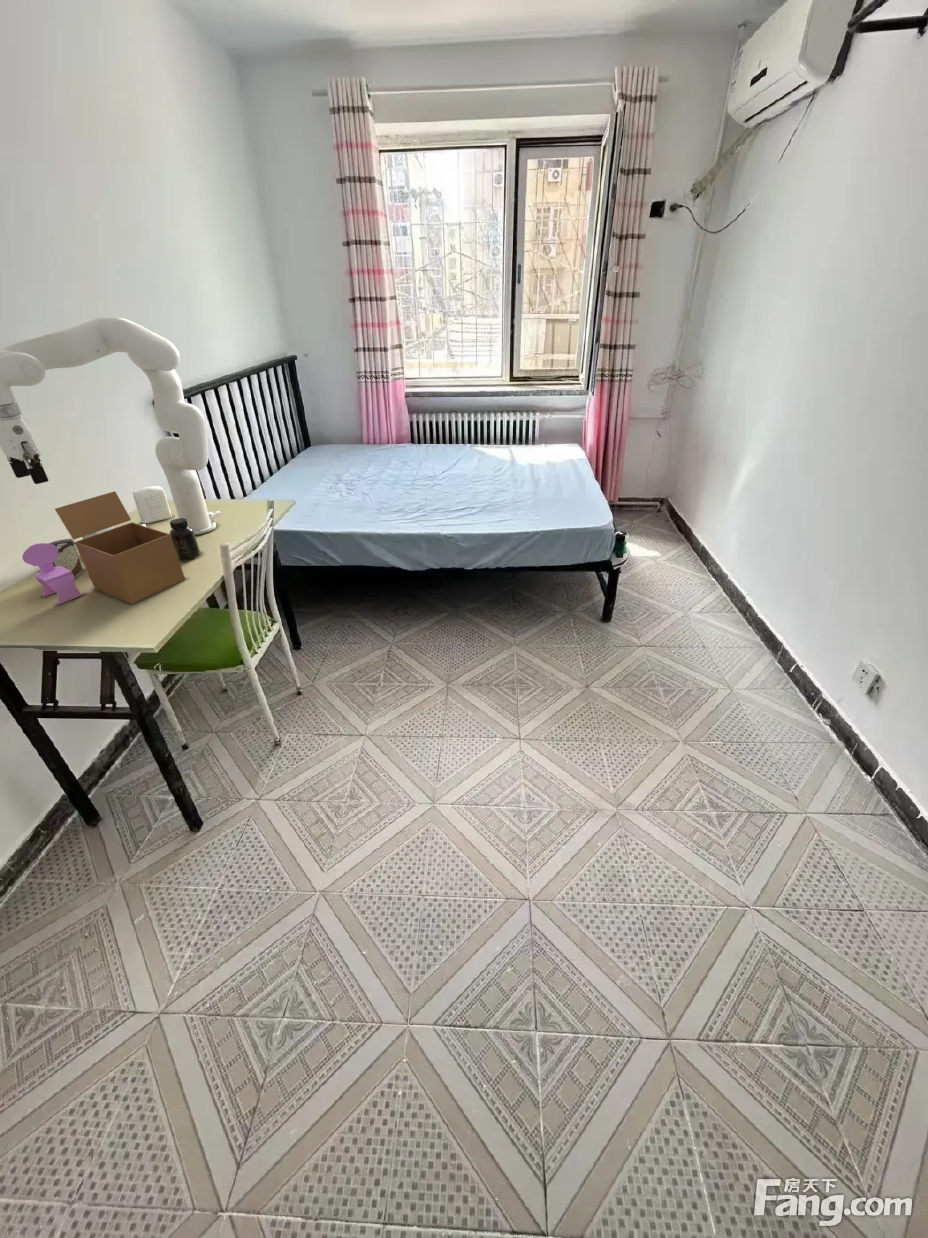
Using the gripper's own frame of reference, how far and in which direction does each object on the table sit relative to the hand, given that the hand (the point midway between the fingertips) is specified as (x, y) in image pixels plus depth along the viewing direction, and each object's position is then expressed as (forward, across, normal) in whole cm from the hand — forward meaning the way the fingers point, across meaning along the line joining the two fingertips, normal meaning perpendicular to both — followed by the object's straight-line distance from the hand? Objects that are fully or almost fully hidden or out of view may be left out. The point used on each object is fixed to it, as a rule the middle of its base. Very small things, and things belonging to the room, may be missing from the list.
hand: (32, 479), depth 138 cm
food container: (+30, +4, +2) cm, 30 cm away
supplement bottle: (+30, -15, -27) cm, 43 cm away
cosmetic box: (+30, +14, -16) cm, 37 cm away
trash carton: (+30, -19, -8) cm, 36 cm away
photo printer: (+30, +23, -40) cm, 55 cm away
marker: (+30, +14, -28) cm, 43 cm away
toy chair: (+30, -8, +8) cm, 32 cm away
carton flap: (+11, -9, -7) cm, 16 cm away
